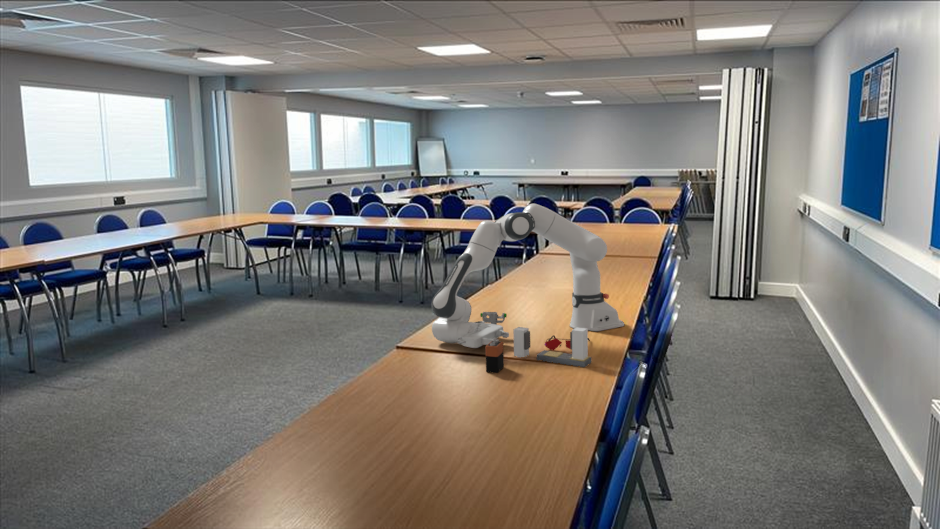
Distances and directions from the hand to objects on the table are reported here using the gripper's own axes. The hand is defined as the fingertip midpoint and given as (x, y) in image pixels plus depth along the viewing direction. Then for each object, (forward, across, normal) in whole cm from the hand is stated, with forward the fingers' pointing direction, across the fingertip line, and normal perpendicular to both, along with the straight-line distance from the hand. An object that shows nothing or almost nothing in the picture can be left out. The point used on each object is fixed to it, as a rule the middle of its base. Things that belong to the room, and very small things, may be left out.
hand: (501, 338), depth 240 cm
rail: (+24, +1, +5) cm, 25 cm away
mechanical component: (-13, +16, +6) cm, 22 cm away
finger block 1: (+8, 0, +5) cm, 10 cm away
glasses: (+18, +19, +6) cm, 27 cm away
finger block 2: (+30, +1, +3) cm, 31 cm away
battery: (+8, -18, +6) cm, 20 cm away
